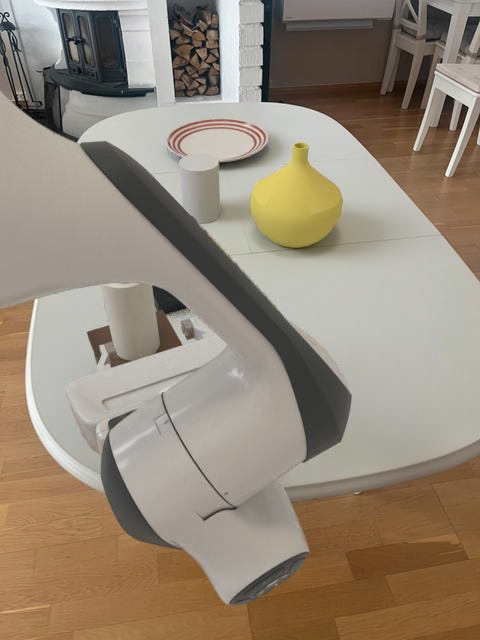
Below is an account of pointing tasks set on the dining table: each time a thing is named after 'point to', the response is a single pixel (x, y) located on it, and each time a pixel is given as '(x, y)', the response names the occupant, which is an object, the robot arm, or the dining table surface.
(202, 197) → the white cylinder
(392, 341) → the dining table surface
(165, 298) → the black square tray
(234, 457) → the robot arm
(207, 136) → the dinner plate
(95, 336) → the brown wooden stool
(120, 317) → the bottle
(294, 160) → the vase
